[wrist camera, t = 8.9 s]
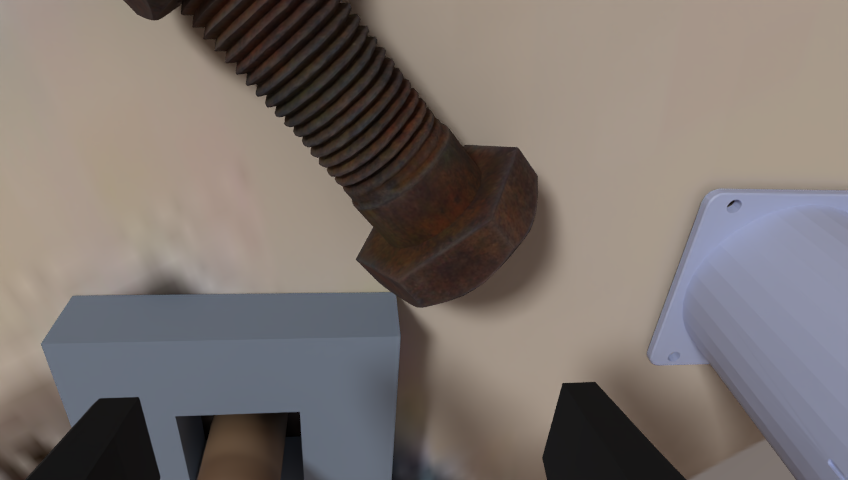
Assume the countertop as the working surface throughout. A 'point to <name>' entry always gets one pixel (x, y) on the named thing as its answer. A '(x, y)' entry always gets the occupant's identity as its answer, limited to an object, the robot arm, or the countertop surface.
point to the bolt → (376, 143)
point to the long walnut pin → (245, 447)
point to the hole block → (240, 372)
